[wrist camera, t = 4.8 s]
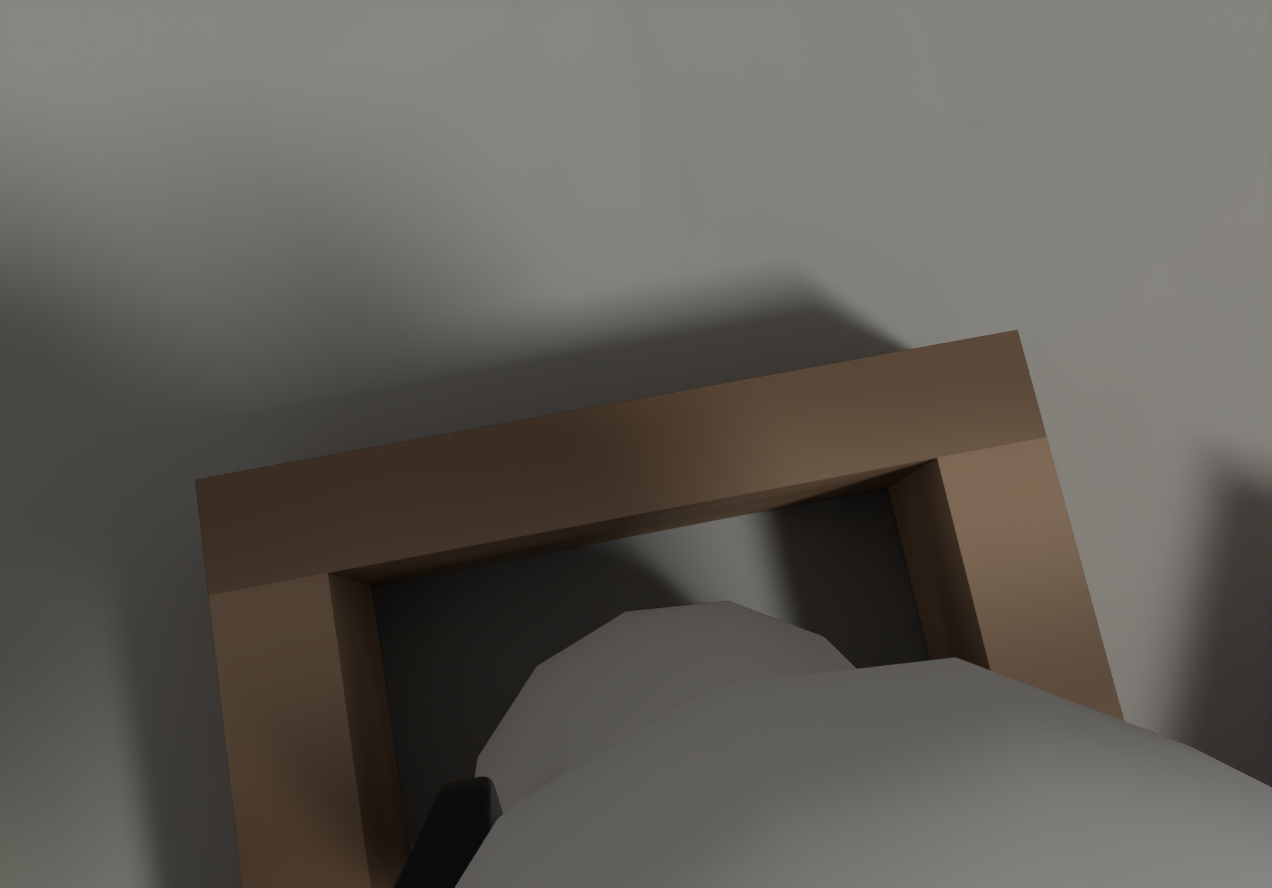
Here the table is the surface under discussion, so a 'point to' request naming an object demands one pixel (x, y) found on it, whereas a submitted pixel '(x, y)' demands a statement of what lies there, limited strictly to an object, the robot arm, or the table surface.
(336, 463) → the walnut socket
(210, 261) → the table surface
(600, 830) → the salt shaker
